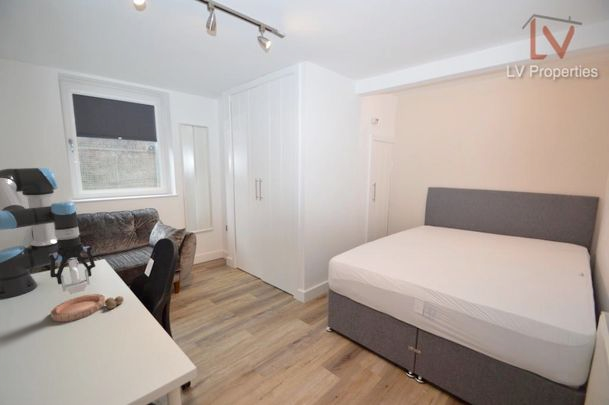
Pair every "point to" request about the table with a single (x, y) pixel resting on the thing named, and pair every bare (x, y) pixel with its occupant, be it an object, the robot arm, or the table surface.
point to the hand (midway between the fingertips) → (76, 286)
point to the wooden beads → (113, 302)
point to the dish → (78, 307)
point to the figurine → (75, 278)
